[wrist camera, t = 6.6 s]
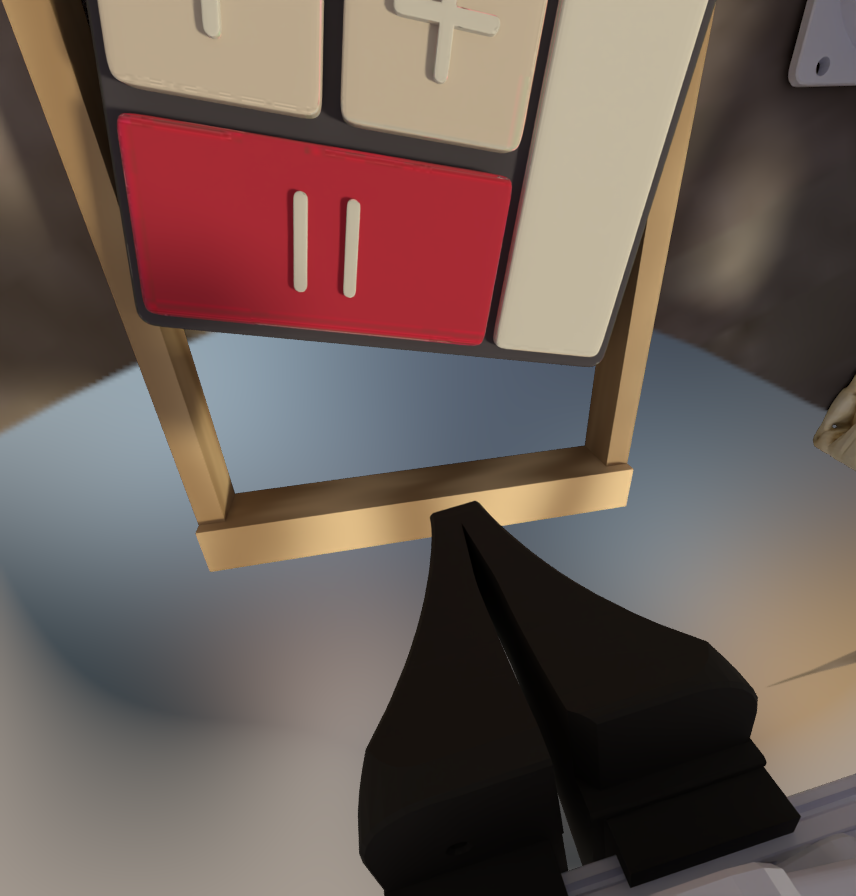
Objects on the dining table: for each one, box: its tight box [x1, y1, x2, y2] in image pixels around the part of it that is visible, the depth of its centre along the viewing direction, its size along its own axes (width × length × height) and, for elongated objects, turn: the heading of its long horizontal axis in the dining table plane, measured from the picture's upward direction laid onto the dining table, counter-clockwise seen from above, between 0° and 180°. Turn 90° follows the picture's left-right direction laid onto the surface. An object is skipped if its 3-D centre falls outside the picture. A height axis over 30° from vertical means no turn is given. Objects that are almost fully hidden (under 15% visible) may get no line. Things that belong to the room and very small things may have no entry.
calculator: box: [86, 0, 716, 367], centre depth 13 cm, size 11×4×15 cm
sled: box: [2, 0, 716, 572], centre depth 15 cm, size 18×21×2 cm
